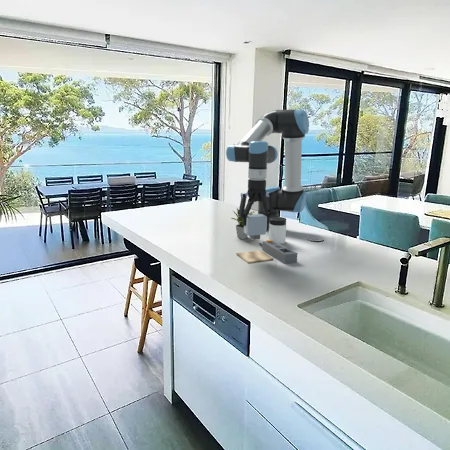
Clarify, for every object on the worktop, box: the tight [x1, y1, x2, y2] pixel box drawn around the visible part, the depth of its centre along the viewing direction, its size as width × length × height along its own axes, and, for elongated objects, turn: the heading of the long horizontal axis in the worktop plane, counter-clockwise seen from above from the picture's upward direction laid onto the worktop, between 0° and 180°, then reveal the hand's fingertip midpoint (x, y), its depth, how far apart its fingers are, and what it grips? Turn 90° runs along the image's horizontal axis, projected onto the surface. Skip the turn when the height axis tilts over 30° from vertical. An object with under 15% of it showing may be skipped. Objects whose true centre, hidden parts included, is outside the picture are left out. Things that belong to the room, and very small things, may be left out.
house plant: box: [230, 207, 256, 240], centre depth 191 cm, size 14×14×16 cm
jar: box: [268, 216, 287, 245], centre depth 185 cm, size 9×8×12 cm
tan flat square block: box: [235, 250, 274, 264], centre depth 164 cm, size 12×12×1 cm
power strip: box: [258, 239, 298, 265], centre depth 169 cm, size 28×6×5 cm, turn 22°
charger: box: [245, 213, 267, 241], centre depth 160 cm, size 4×8×10 cm, turn 112°
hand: (255, 232), depth 161 cm, fingers closed on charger, 8 cm apart
